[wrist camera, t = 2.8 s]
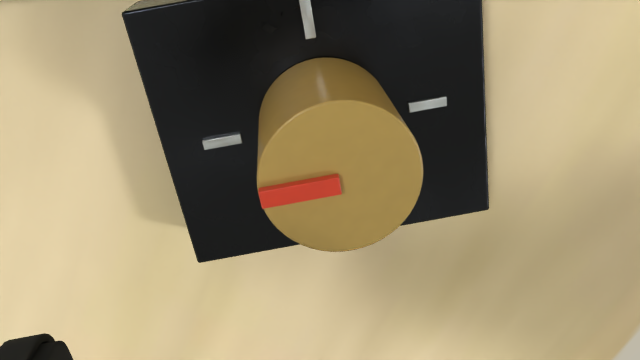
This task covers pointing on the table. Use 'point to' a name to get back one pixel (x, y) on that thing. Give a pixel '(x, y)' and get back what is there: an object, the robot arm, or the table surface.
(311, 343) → the table surface
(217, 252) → the dial plate
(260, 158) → the dial
